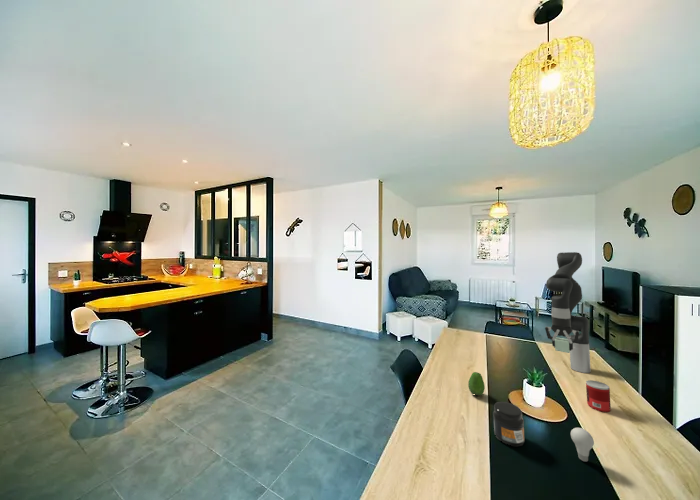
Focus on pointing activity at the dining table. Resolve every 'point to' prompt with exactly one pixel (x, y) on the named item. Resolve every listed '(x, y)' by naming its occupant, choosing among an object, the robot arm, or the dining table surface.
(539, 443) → the dining table surface
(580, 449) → the lightbulb
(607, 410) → the canned food
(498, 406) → the supplement container
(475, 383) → the avocado
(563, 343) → the sage block
